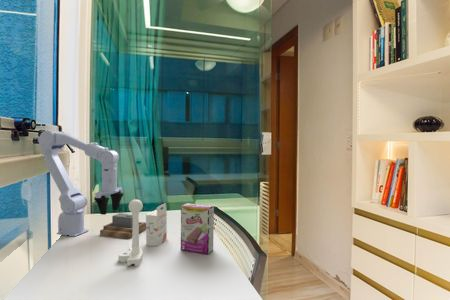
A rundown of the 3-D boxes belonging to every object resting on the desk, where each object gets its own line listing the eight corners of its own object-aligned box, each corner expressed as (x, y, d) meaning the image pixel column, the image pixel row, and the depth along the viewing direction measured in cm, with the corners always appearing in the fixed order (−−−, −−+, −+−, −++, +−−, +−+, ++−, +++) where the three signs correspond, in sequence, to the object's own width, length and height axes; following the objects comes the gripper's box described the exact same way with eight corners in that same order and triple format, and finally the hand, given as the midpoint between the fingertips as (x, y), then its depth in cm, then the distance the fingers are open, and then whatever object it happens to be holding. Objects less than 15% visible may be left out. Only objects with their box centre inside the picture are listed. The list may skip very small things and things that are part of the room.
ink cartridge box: (155, 237, 115) (155, 201, 114) (166, 238, 114) (167, 202, 113) (145, 245, 106) (145, 206, 106) (157, 246, 105) (157, 207, 105)
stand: (100, 235, 117) (100, 227, 117) (121, 225, 131) (121, 218, 130) (129, 238, 113) (129, 230, 113) (148, 228, 127) (148, 221, 127)
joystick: (142, 265, 89) (142, 202, 89) (116, 268, 87) (116, 204, 87) (142, 252, 100) (142, 196, 99) (119, 254, 98) (119, 196, 97)
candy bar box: (179, 250, 102) (180, 205, 101) (186, 245, 107) (186, 202, 106) (208, 255, 98) (209, 208, 98) (213, 250, 103) (214, 205, 102)
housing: (112, 227, 121) (112, 214, 120) (119, 224, 125) (119, 211, 125) (130, 229, 118) (130, 216, 118) (137, 226, 123) (137, 213, 123)
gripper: (105, 182, 109) (105, 217, 110) (128, 177, 123) (128, 208, 124) (90, 181, 111) (90, 215, 112) (114, 177, 125) (114, 207, 126)
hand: (109, 212), depth 118 cm, fingers open, 7 cm apart
